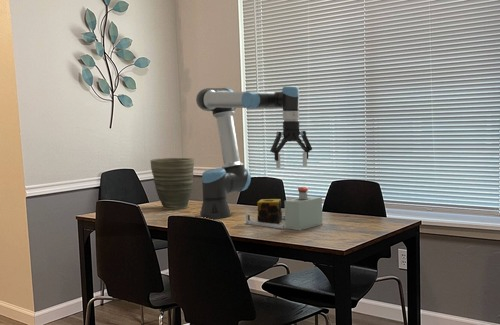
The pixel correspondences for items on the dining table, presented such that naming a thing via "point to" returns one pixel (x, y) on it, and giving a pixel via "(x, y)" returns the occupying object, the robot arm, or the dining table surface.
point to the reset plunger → (303, 193)
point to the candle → (269, 211)
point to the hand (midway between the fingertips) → (291, 167)
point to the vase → (173, 181)
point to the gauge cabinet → (303, 213)
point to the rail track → (264, 223)
